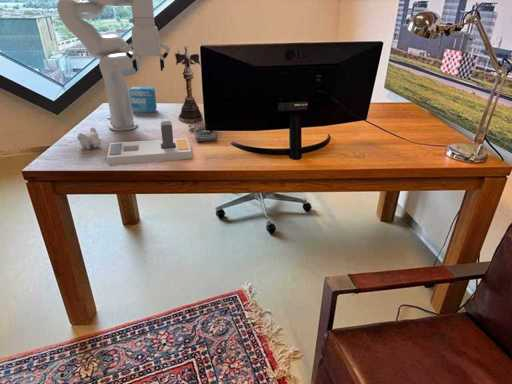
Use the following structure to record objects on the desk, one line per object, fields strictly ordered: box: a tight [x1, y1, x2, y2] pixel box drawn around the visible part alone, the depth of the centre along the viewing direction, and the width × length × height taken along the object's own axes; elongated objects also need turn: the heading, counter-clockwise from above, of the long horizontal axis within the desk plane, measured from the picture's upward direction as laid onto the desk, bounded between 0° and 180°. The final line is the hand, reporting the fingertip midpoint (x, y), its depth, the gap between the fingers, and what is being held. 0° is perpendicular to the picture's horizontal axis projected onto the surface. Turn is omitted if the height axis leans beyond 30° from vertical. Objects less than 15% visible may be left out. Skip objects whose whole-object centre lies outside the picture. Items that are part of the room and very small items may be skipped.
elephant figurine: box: [76, 127, 104, 150], centre depth 142 cm, size 8×10×7 cm
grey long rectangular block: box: [160, 118, 174, 149], centre depth 138 cm, size 4×4×14 cm
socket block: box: [107, 137, 192, 166], centre depth 139 cm, size 30×14×3 cm, turn 106°
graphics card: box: [188, 123, 217, 142], centre depth 158 cm, size 17×4×12 cm
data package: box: [129, 86, 157, 113], centre depth 183 cm, size 12×4×12 cm, turn 95°
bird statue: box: [174, 45, 203, 124], centre depth 172 cm, size 17×13×35 cm
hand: (149, 70), depth 141 cm, fingers open, 9 cm apart
